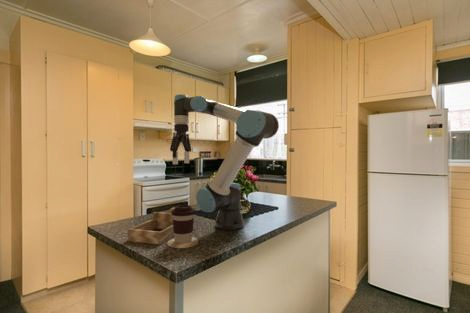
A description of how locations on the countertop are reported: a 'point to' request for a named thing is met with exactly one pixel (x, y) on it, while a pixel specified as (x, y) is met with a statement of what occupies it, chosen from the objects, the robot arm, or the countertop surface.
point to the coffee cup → (183, 223)
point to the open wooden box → (144, 230)
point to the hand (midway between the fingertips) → (181, 163)
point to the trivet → (177, 245)
